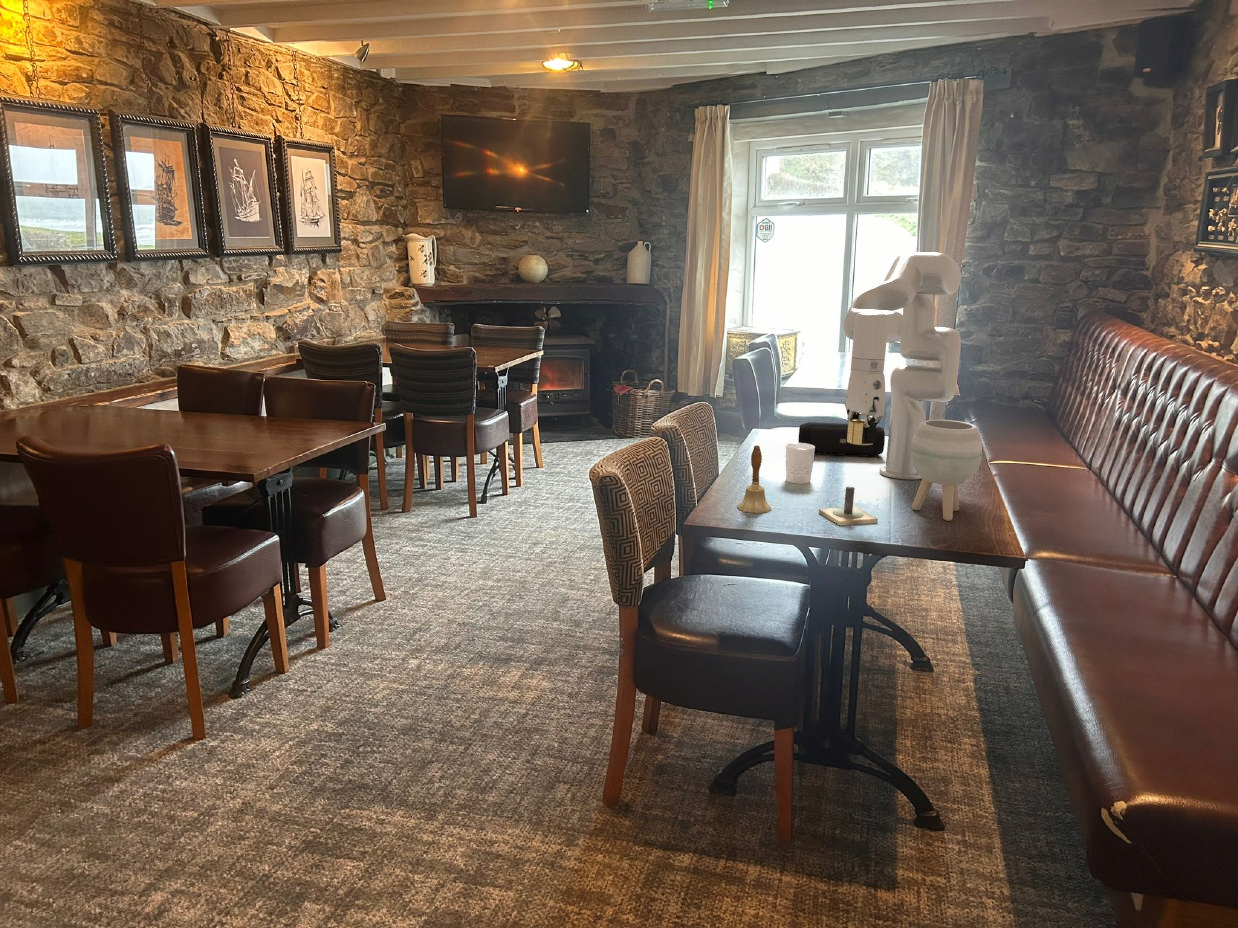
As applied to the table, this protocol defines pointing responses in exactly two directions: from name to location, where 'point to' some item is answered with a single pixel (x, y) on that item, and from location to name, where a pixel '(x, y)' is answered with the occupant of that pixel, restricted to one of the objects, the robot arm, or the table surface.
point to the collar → (855, 432)
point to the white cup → (799, 462)
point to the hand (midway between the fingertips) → (860, 439)
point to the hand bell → (755, 488)
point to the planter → (945, 459)
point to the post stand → (848, 512)
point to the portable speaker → (838, 440)
